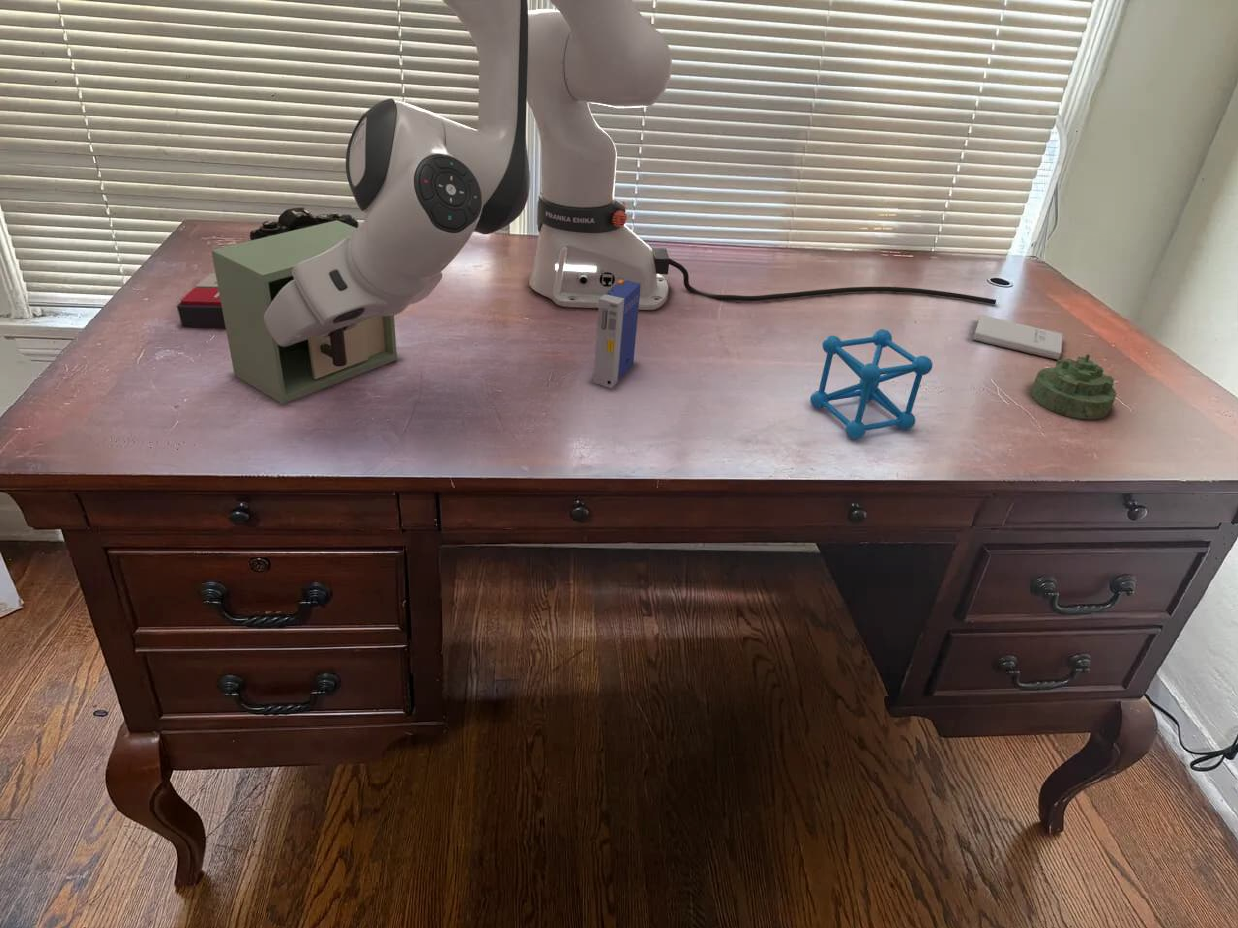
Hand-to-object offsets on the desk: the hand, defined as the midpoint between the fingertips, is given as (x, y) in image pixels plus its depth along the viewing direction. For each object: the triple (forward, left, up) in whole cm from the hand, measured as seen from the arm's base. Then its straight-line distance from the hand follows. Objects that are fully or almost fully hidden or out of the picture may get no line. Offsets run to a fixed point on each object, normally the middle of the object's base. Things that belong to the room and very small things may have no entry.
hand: (332, 328), depth 100 cm
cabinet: (+5, -5, -8) cm, 11 cm away
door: (-1, -2, -7) cm, 8 cm away
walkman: (-32, -13, -9) cm, 36 cm away
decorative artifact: (-94, -21, -9) cm, 97 cm away
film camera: (+20, -36, -9) cm, 42 cm away
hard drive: (-92, -40, -9) cm, 101 cm away
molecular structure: (-64, -9, -9) cm, 65 cm away
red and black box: (+20, -18, -9) cm, 28 cm away
